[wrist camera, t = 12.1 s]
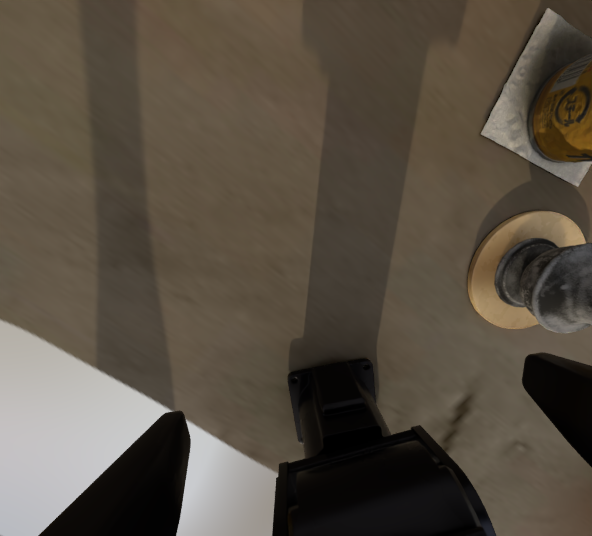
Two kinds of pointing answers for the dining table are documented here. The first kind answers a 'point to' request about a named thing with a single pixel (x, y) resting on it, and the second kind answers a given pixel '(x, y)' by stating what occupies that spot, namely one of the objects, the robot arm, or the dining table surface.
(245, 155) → the dining table surface
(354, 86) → the dining table surface
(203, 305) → the dining table surface
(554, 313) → the grey carved stone piece
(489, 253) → the coaster
